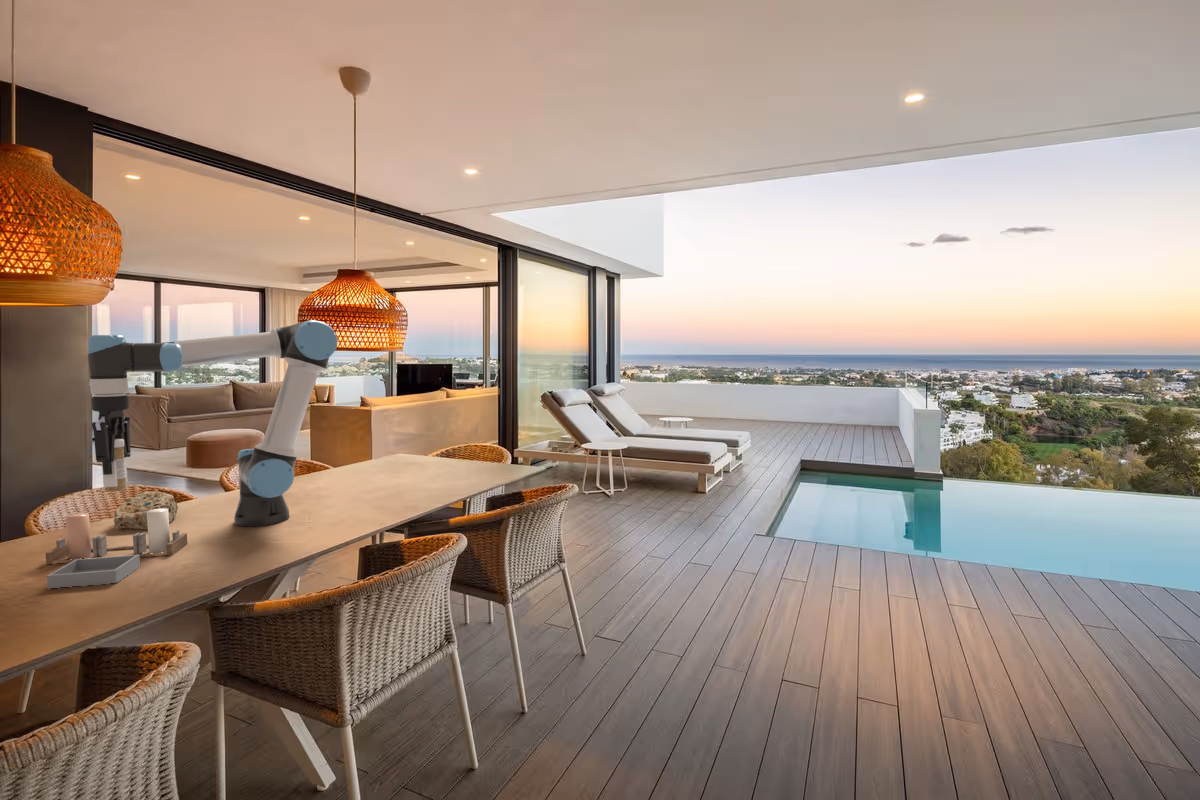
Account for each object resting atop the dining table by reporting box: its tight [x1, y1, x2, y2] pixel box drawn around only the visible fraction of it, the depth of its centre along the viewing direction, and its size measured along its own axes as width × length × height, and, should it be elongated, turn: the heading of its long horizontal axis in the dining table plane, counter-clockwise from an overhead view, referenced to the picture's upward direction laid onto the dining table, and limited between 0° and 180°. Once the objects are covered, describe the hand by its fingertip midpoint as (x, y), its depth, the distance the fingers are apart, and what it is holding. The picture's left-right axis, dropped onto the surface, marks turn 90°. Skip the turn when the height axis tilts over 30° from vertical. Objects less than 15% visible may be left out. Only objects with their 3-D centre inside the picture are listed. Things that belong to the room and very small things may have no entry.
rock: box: [113, 490, 179, 530], centre depth 188 cm, size 21×14×10 cm
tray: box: [46, 554, 141, 590], centre depth 141 cm, size 13×11×3 cm
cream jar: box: [147, 508, 171, 554], centre depth 160 cm, size 5×5×11 cm
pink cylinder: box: [65, 512, 93, 560], centre depth 155 cm, size 5×5×11 cm
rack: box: [45, 529, 188, 565], centre depth 158 cm, size 27×10×5 cm, turn 105°
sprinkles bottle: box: [104, 439, 128, 493], centre depth 156 cm, size 5×5×14 cm
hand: (115, 484), depth 157 cm, fingers closed on sprinkles bottle, 4 cm apart
